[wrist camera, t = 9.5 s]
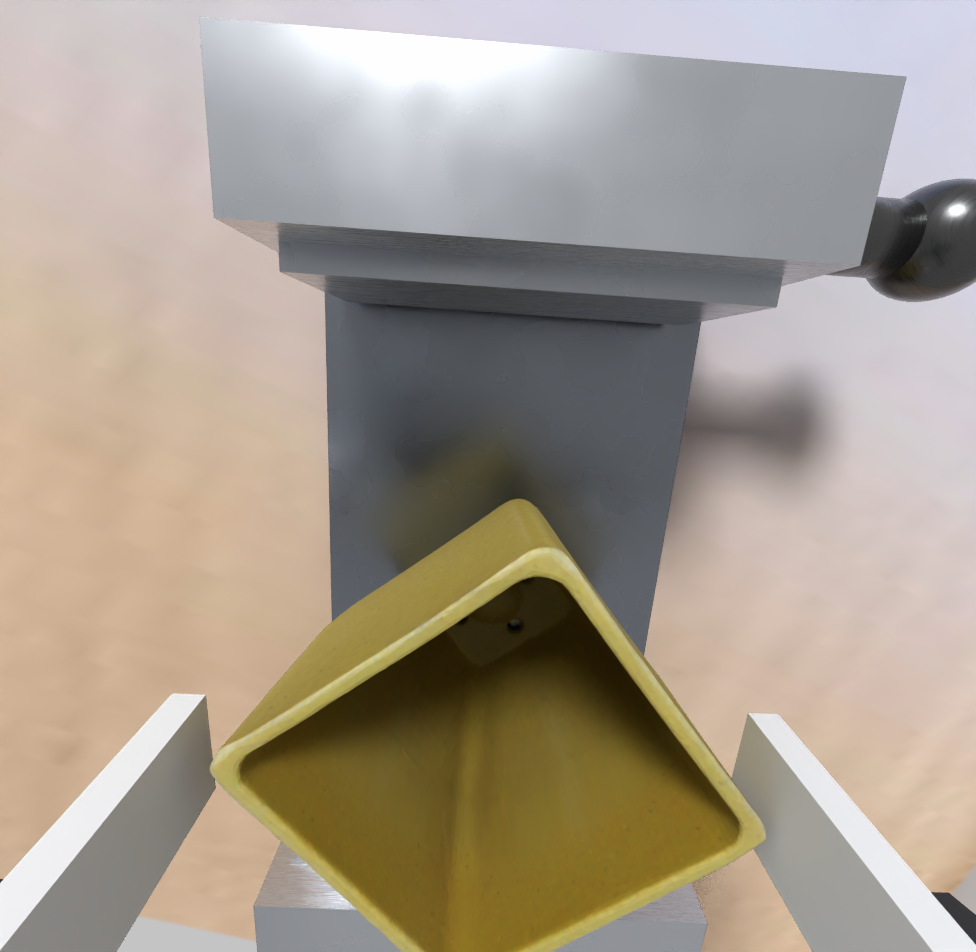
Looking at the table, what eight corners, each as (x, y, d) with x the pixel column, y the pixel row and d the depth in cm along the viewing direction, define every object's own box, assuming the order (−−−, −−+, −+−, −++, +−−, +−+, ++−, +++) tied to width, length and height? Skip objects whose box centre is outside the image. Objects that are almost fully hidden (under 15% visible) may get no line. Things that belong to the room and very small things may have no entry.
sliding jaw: (336, 302, 15) (216, 253, 8) (335, 182, 14) (199, 17, 7) (854, 339, 16) (1144, 320, 9) (884, 224, 15) (1229, 104, 8)
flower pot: (465, 721, 20) (450, 1010, 11) (335, 572, 18) (192, 774, 9) (638, 616, 18) (778, 844, 10) (517, 445, 17) (555, 536, 8)
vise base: (345, 745, 22) (259, 979, 13) (336, 119, 15) (164, -164, 7) (612, 757, 22) (689, 994, 14) (711, 149, 16) (963, -89, 7)
